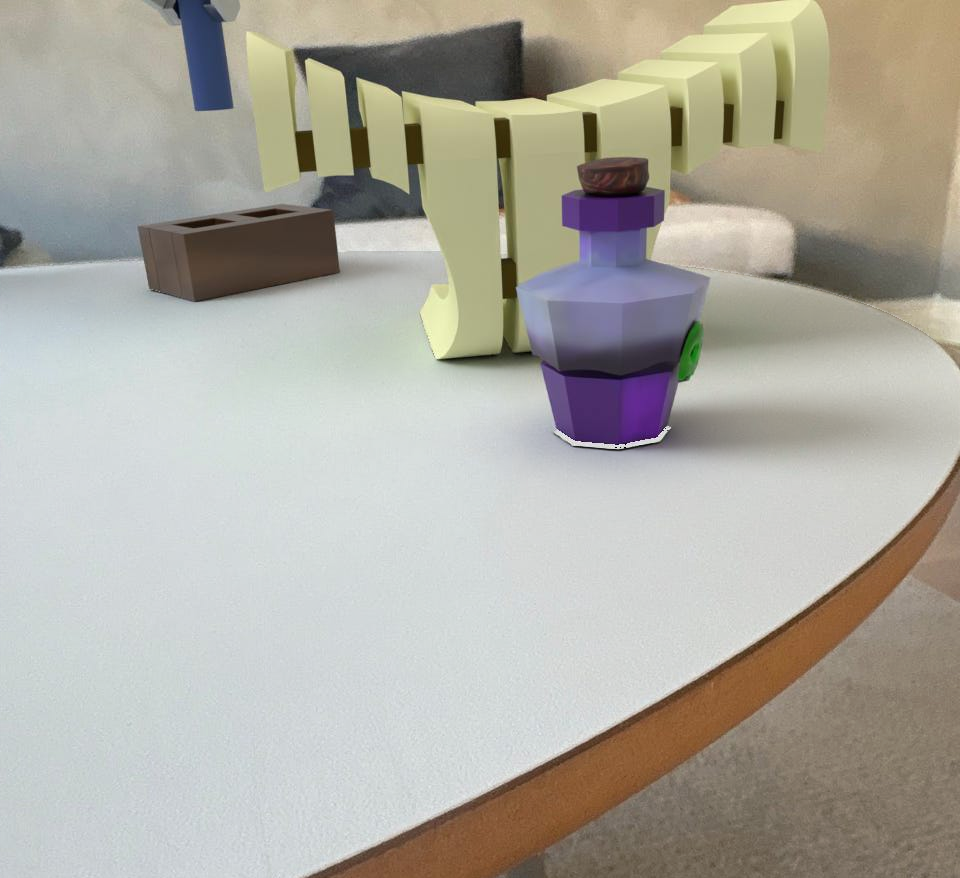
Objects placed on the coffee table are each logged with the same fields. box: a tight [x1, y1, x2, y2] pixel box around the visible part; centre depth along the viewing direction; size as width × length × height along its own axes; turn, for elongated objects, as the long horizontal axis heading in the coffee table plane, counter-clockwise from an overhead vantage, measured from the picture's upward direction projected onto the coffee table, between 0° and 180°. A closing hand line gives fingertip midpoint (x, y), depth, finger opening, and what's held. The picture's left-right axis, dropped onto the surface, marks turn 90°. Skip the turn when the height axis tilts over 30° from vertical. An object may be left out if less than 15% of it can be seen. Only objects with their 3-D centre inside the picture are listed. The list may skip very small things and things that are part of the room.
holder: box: [137, 203, 341, 303], centre depth 89 cm, size 8×14×5 cm, turn 131°
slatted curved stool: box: [245, 0, 831, 360], centre depth 65 cm, size 30×16×18 cm, turn 97°
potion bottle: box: [516, 157, 711, 448], centre depth 49 cm, size 9×9×12 cm
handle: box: [178, 0, 235, 112], centre depth 77 cm, size 3×3×11 cm
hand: (206, 16), depth 77 cm, fingers closed on handle, 3 cm apart
